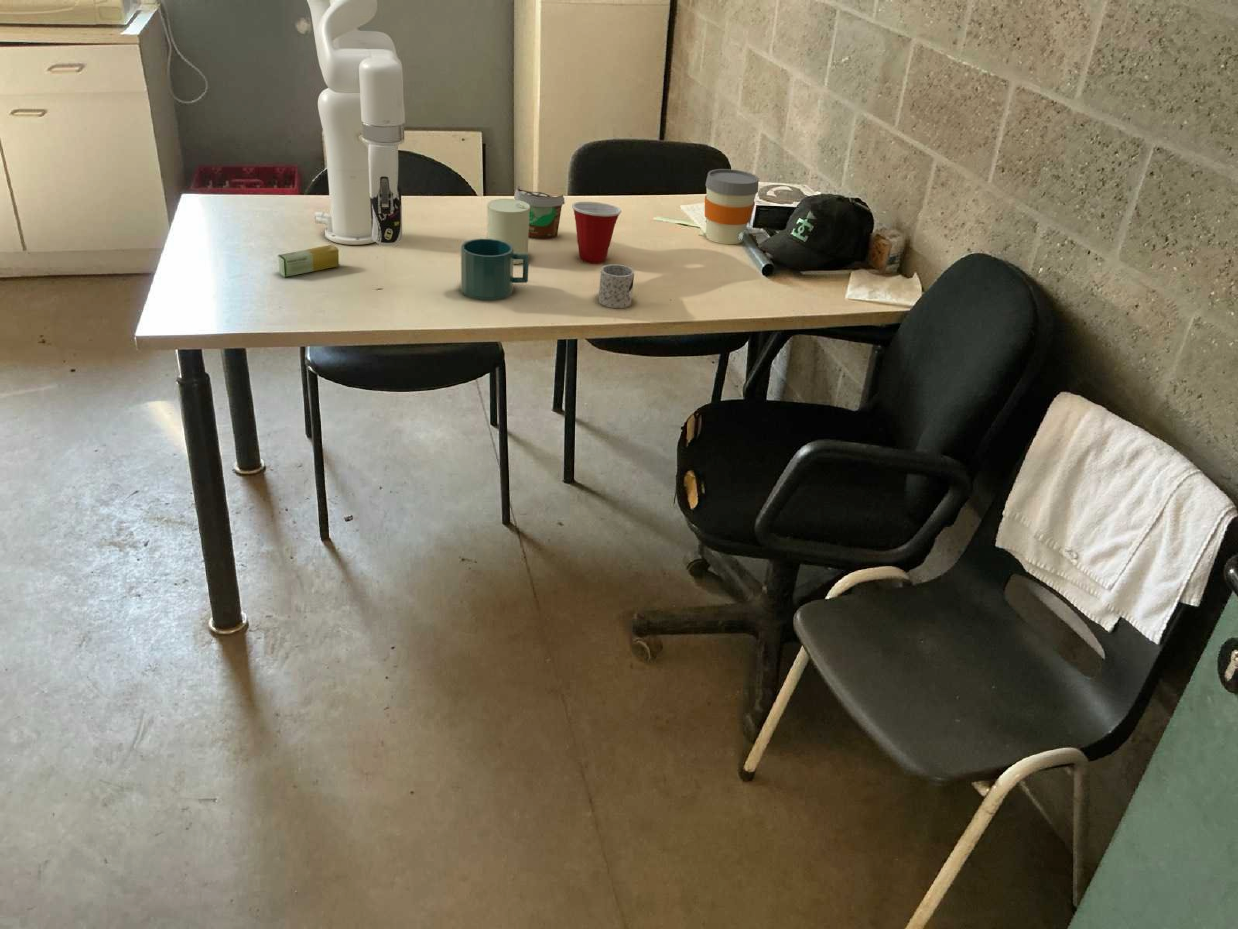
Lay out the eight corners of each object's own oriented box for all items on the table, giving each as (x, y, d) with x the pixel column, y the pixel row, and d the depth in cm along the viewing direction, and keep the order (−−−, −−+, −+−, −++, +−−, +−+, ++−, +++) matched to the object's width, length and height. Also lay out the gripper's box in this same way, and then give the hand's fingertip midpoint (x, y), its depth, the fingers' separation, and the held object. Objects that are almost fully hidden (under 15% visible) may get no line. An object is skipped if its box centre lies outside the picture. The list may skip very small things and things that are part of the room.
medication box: (284, 278, 192) (282, 259, 189) (278, 272, 193) (276, 254, 191) (340, 266, 199) (339, 248, 196) (333, 261, 200) (332, 243, 198)
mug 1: (462, 300, 190) (462, 256, 185) (459, 280, 198) (459, 238, 193) (530, 300, 192) (531, 257, 188) (524, 281, 201) (526, 239, 196)
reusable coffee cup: (725, 250, 228) (734, 186, 220) (688, 234, 236) (695, 172, 228) (760, 241, 235) (770, 179, 227) (723, 226, 243) (732, 166, 235)
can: (521, 267, 208) (523, 212, 201) (480, 260, 209) (481, 205, 202) (533, 253, 215) (535, 199, 209) (493, 247, 216) (494, 194, 210)
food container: (503, 233, 225) (504, 191, 219) (515, 226, 230) (517, 184, 224) (551, 244, 221) (553, 201, 216) (563, 237, 226) (565, 194, 221)
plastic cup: (625, 257, 218) (629, 204, 212) (604, 271, 209) (608, 217, 203) (582, 247, 221) (585, 195, 215) (560, 260, 213) (562, 206, 207)
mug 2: (635, 307, 194) (638, 276, 190) (603, 308, 192) (606, 277, 188) (621, 288, 202) (623, 257, 198) (590, 289, 200) (592, 258, 196)
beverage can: (375, 248, 184) (372, 186, 177) (369, 237, 188) (366, 176, 182) (405, 246, 186) (403, 185, 180) (398, 235, 190) (396, 175, 184)
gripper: (363, 119, 182) (367, 214, 192) (360, 143, 168) (365, 244, 178) (404, 120, 183) (406, 215, 193) (404, 145, 170) (407, 245, 180)
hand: (386, 228), depth 186 cm, fingers closed on beverage can, 3 cm apart
